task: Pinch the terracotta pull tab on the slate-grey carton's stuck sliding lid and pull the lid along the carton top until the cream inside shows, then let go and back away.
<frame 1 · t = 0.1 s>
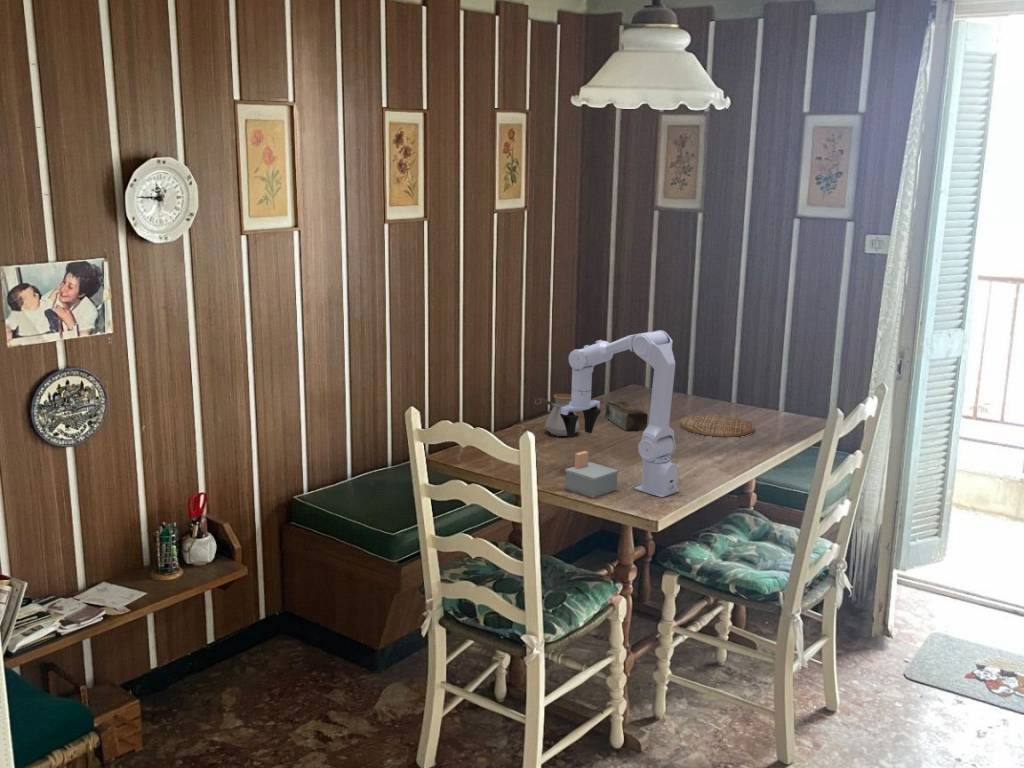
hand: (579, 434, 296), 10 cm above the table, tool pointing down, fingers open, 7 cm apart
trivet: (716, 429, 346), on the table
lid: (592, 463, 277), point 7 cm above the table, slide at 0.0 cm
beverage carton: (625, 425, 349), on the table
coffee pot: (554, 437, 330), on the table
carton: (590, 489, 279), on the table
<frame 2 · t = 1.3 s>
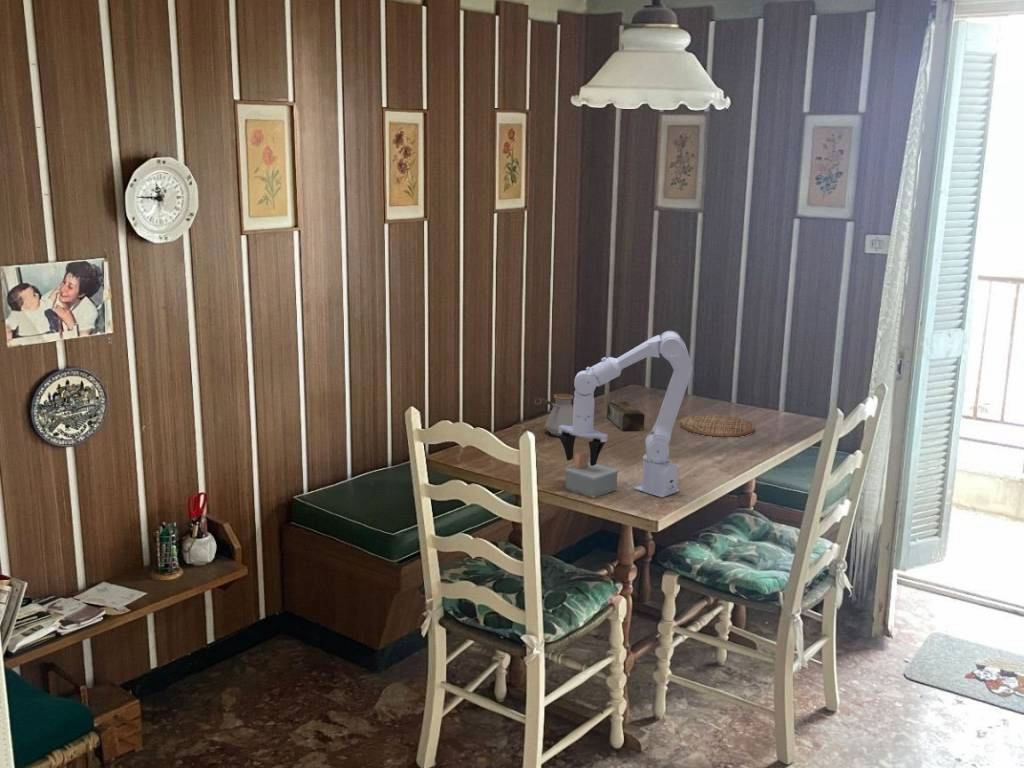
hand: (581, 462, 280), 7 cm above the table, tool pointing down, fingers open, 7 cm apart
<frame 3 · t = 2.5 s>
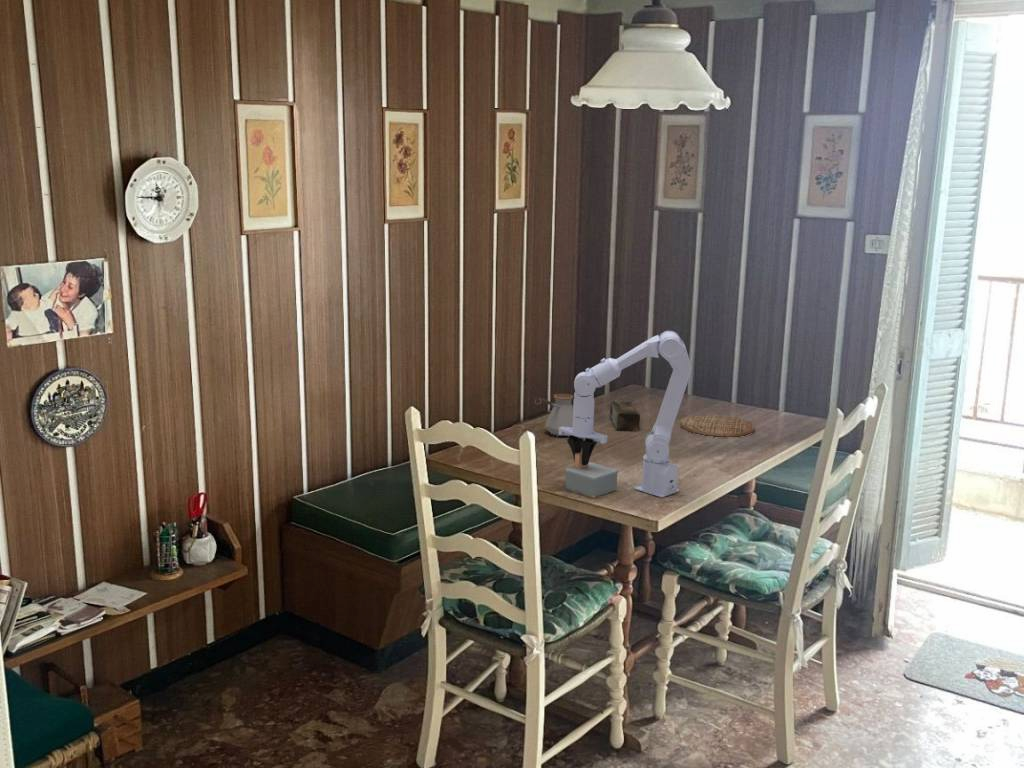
hand: (581, 463, 280), 7 cm above the table, tool pointing down, fingers closed on lid, 2 cm apart
lid: (592, 463, 277), point 7 cm above the table, slide at 0.0 cm, touching gripper
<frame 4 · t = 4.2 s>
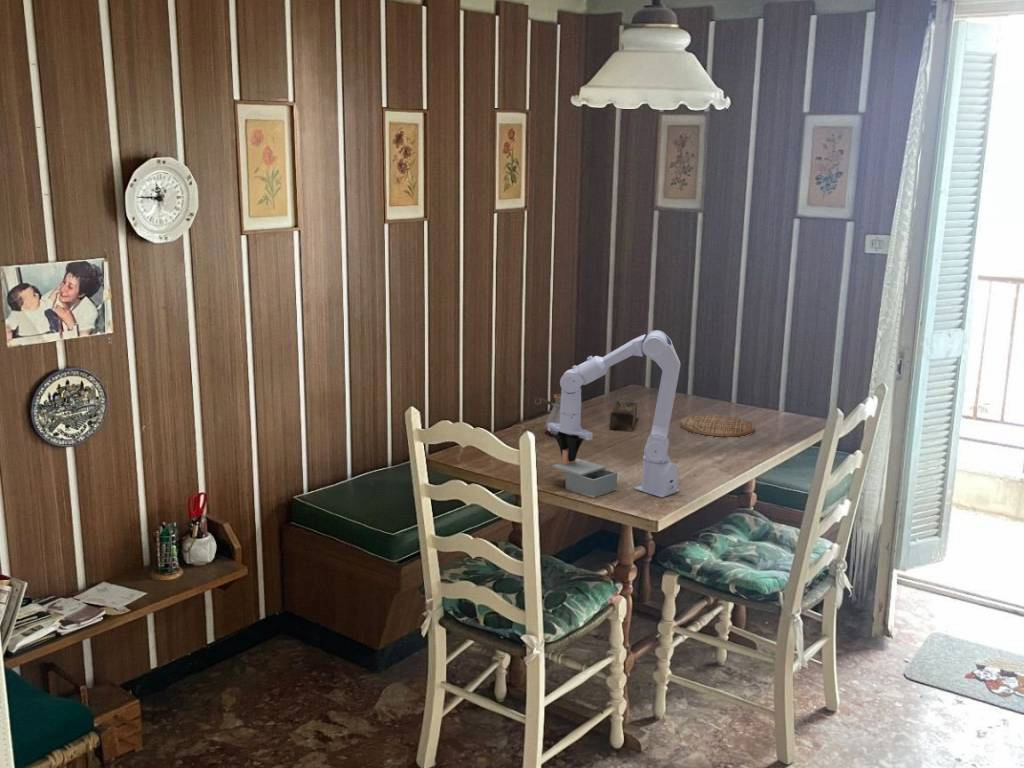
hand: (568, 459, 283), 7 cm above the table, tool pointing down, fingers closed
lid: (579, 460, 280), point 7 cm above the table, slide at 4.6 cm, touching gripper
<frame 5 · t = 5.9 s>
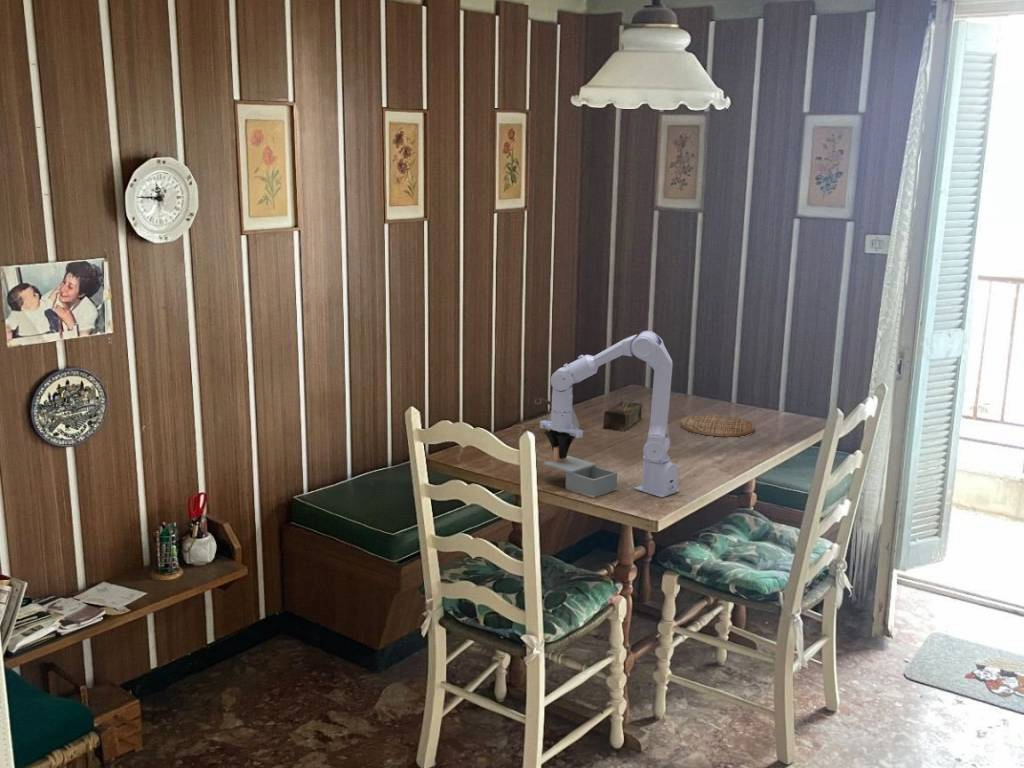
hand: (560, 457, 285), 7 cm above the table, tool pointing down, fingers closed
lid: (570, 457, 283), point 7 cm above the table, slide at 8.0 cm
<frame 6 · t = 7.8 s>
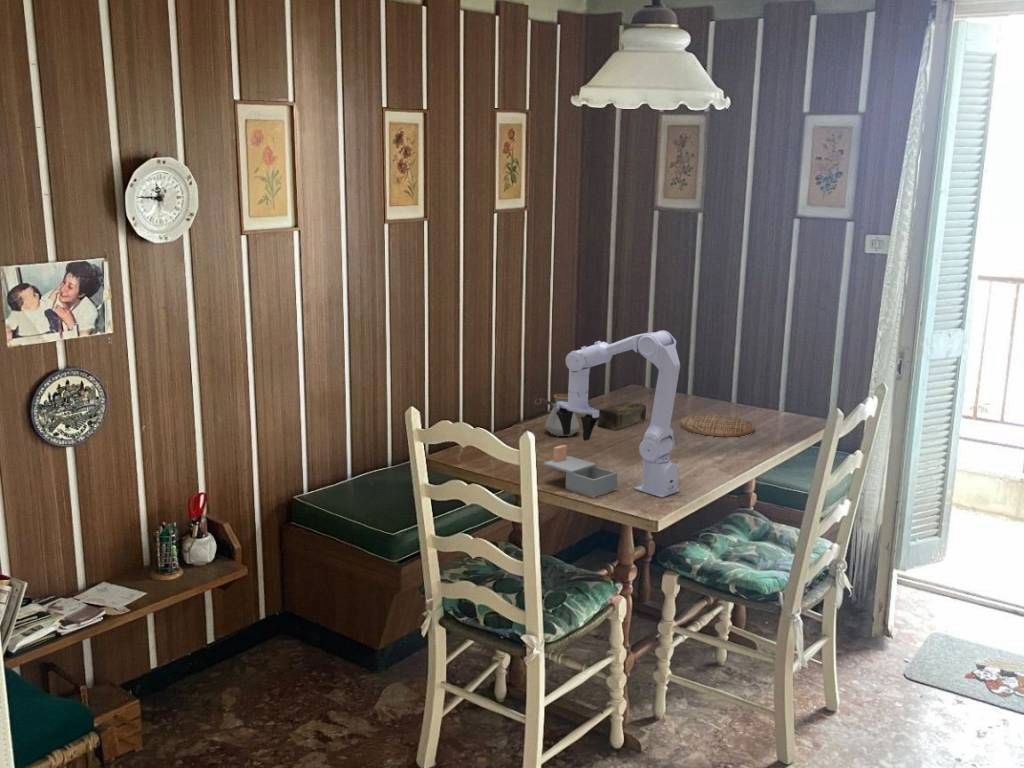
hand: (576, 437, 292), 10 cm above the table, tool pointing down, fingers open, 7 cm apart
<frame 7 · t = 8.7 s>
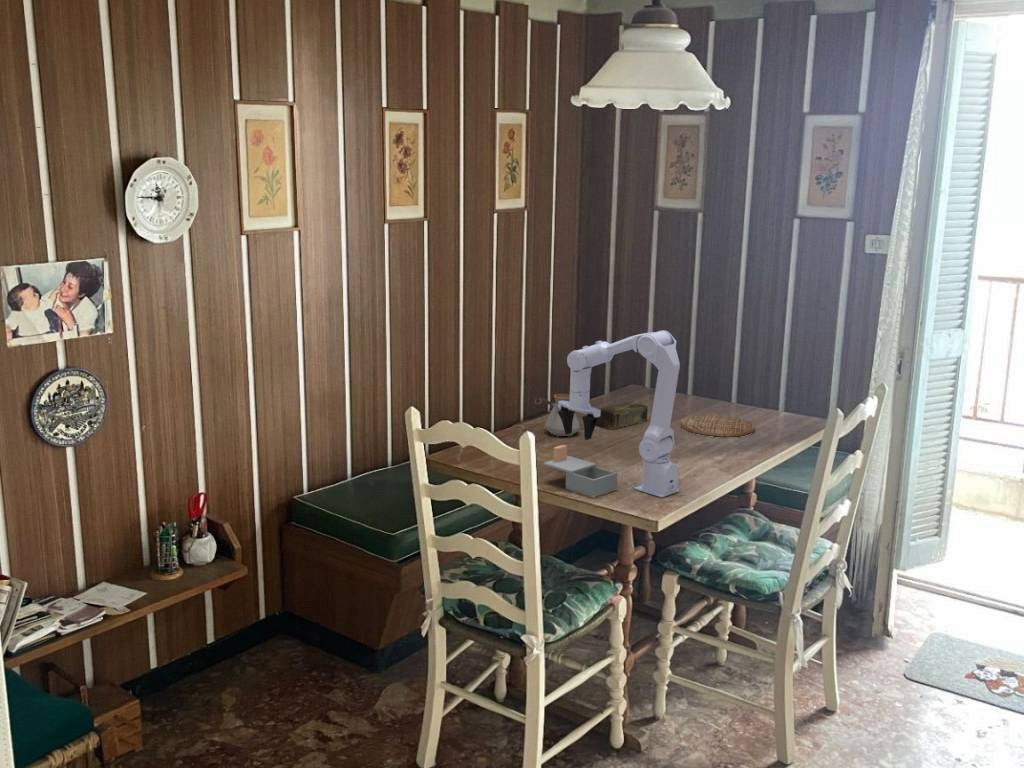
hand: (577, 436, 293), 10 cm above the table, tool pointing down, fingers open, 7 cm apart
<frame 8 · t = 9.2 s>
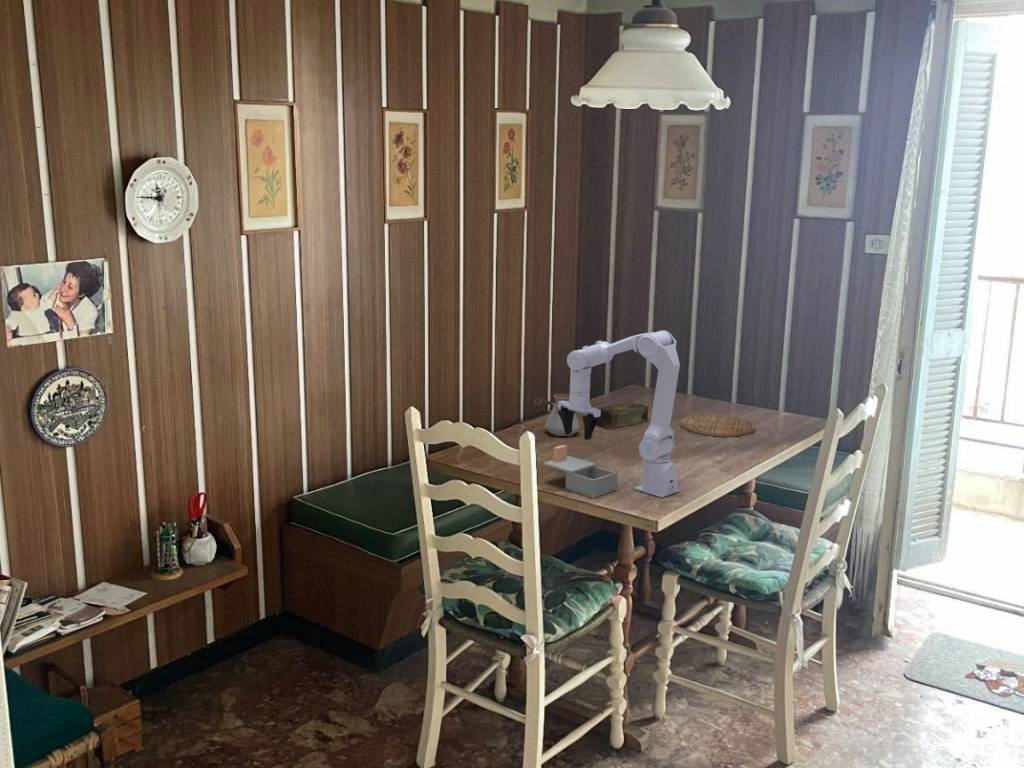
hand: (577, 436, 293), 10 cm above the table, tool pointing down, fingers open, 7 cm apart
at the end: lid slide at 8.0 cm; the gripper is holding nothing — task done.
